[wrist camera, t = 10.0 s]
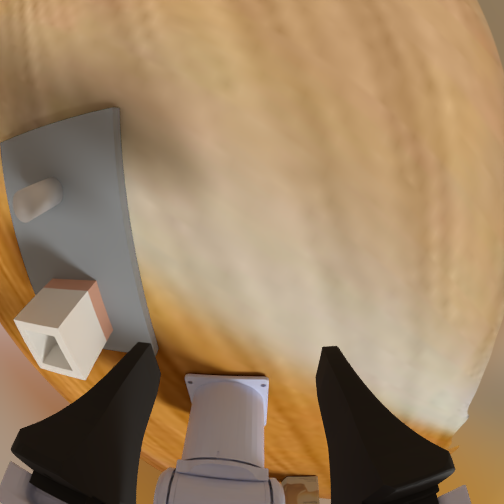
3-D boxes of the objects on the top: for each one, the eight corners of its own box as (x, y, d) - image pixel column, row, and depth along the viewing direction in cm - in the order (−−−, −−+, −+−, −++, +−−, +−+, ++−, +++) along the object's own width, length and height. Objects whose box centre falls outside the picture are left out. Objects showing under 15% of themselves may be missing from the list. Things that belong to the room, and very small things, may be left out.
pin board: (158, 348, 24) (145, 385, 20) (59, 333, 24) (40, 361, 20) (119, 107, 15) (82, 107, 11) (7, 141, 15) (-29, 151, 11)
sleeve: (113, 330, 22) (85, 380, 16) (70, 324, 22) (40, 367, 16) (96, 280, 20) (57, 328, 14) (52, 278, 20) (13, 319, 14)
